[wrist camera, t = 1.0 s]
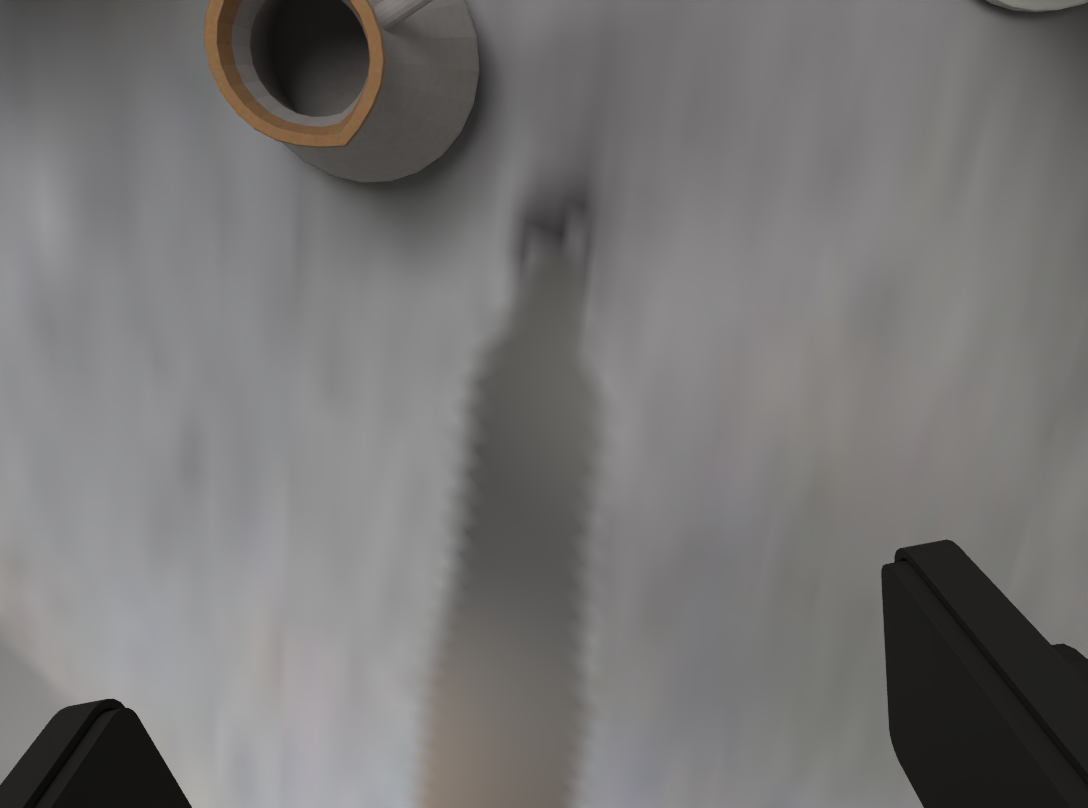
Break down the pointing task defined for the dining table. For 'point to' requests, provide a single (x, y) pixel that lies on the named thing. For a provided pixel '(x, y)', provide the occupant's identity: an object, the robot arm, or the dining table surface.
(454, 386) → the dining table surface
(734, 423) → the dining table surface
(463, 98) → the coffee pot
